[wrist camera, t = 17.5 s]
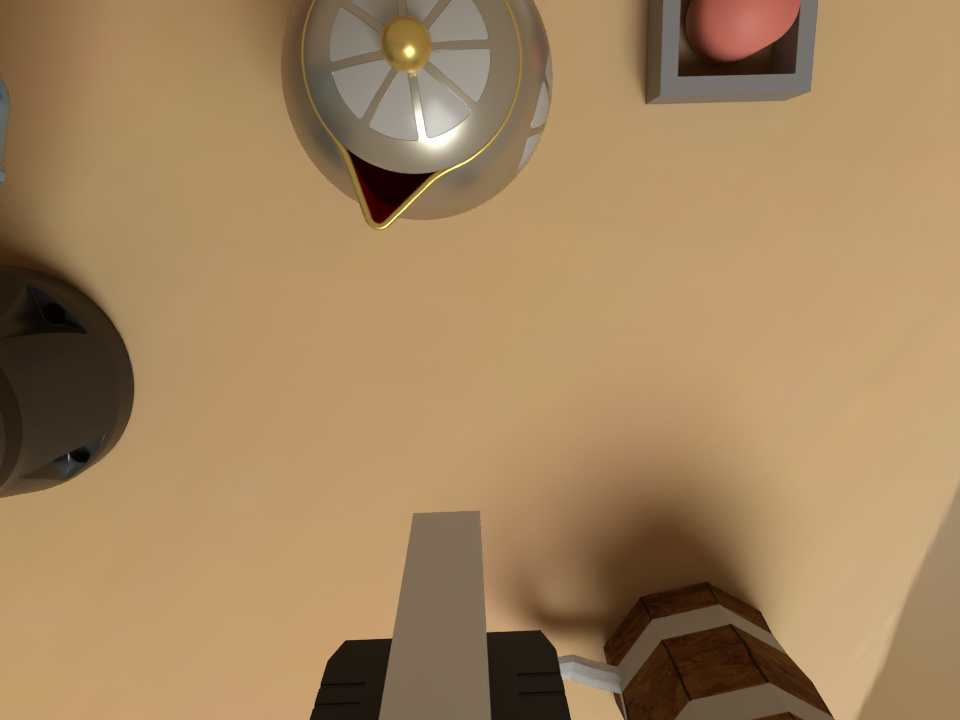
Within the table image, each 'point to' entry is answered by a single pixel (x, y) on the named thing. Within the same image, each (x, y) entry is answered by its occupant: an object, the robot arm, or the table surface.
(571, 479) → the table surface
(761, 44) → the button
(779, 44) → the button housing
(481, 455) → the table surface
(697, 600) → the mug
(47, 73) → the table surface
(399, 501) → the table surface
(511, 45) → the teapot
